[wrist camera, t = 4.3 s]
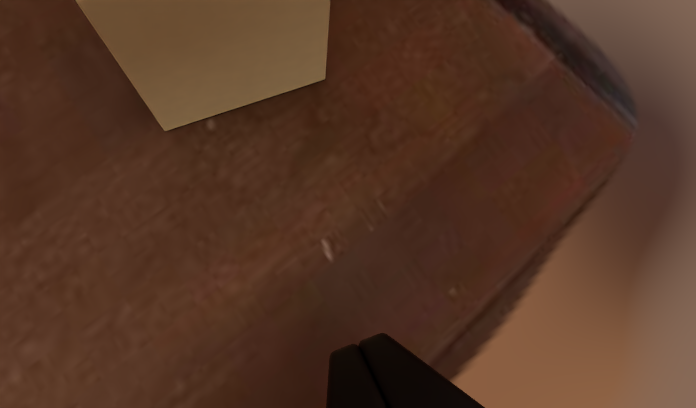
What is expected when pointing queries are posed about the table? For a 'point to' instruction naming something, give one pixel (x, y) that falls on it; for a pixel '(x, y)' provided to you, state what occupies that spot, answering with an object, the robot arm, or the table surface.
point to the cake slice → (212, 50)
